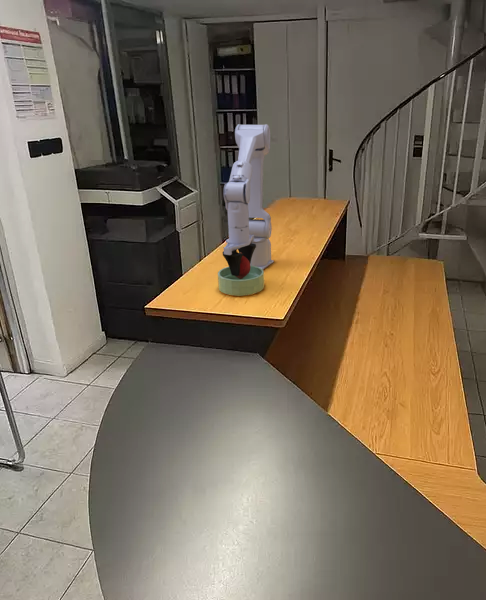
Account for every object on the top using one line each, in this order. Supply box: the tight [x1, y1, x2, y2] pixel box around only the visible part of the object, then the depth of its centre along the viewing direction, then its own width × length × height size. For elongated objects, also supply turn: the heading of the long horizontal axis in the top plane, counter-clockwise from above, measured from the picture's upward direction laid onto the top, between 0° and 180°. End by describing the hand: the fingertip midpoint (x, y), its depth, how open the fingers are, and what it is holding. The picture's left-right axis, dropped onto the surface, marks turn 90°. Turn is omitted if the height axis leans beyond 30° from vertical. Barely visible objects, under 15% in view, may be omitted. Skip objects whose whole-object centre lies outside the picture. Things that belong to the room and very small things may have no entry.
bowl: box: [217, 265, 265, 297], centre depth 141 cm, size 13×13×5 cm
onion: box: [236, 251, 251, 279], centre depth 139 cm, size 6×6×8 cm
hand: (240, 271), depth 140 cm, fingers closed on onion, 6 cm apart
